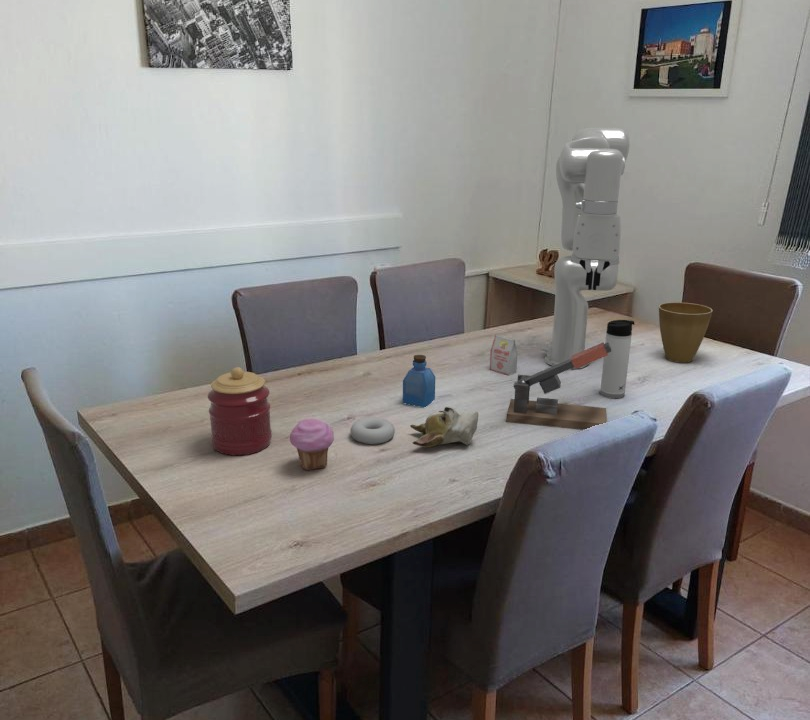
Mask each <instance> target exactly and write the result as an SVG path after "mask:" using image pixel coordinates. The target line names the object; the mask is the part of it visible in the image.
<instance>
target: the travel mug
mask: <svg viewBox="0 0 810 720" xmlns="http://www.w3.org/2000/svg"><path fill="white" fill-rule="evenodd" d="M606 325H607V326H606V332H605V341H604V344H606V343H609V345H610V347H611V352H609V353H608V356H605V357H603V358H602V359H603V360H602V369H601V379H600V389H599V393H600V395H601V396H603V397H605V398H610V399H620V398H623V397H625V395H626V385H627V380H628V379H627V377H628V370H629V369H628V368H629V361H630V352H631V343H632V333H633V332H632V331H633V326H635V321H634V320H627V319H614V320H611V321H609V322H607V324H606Z"/></svg>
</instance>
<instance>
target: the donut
mask: <svg viewBox="0 0 810 720" xmlns="http://www.w3.org/2000/svg"><path fill="white" fill-rule="evenodd" d="M395 431H396V429H395V426H394V424H393V423H392V422H391V421H390V420H387V419H385V418H383V417H376V416H372V417H364V418H360V419H357V420H356V421H355V422H354V423H352V425H351V427H350V435H351V437H352V438H353V439H354V440H355V441H356V442H359V443H362V444H364V445H365V444H366V445H379V444H384V443H386V442H388V441H390V440H391V439H393V437H394V435H395V433H396V432H395Z"/></svg>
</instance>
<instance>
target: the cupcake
mask: <svg viewBox="0 0 810 720" xmlns="http://www.w3.org/2000/svg"><path fill="white" fill-rule="evenodd" d="M334 434H335V433H334V430H333V428H332V426H331V425H330V424H329V423H328V422H326V421H323V420H321V419H318V418H306V419H303V420H300V421H299V422H297V424H296V425H295V426H294V427H293V429H292V430H291V431H290V434H289V442H290V444H291V445H292V446H293V447H295V448H296V451H297V454H298V458H299V462H300V465H301V467H302V468H303V470H306V471H310V470H316V469H322V468H326V467H327V465H328V451H329V448H330V447H331V446H332V444H333V443H334V441H335V436H334Z"/></svg>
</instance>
